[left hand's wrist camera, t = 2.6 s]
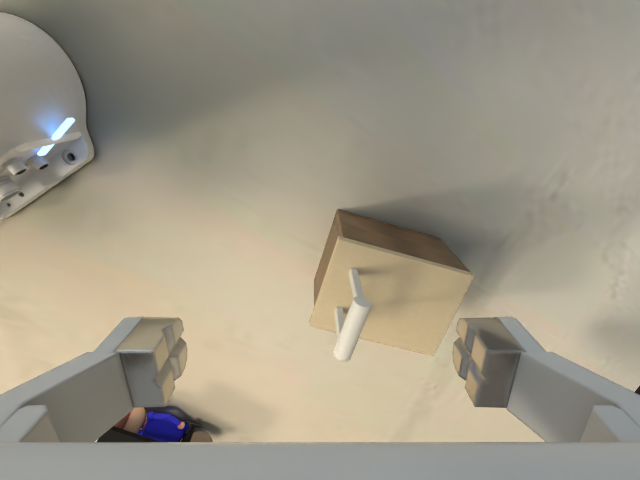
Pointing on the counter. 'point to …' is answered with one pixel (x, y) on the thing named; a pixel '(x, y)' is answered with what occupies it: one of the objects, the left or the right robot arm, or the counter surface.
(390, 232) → the chest
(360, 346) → the counter surface
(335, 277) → the lid
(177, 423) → the figurine character
